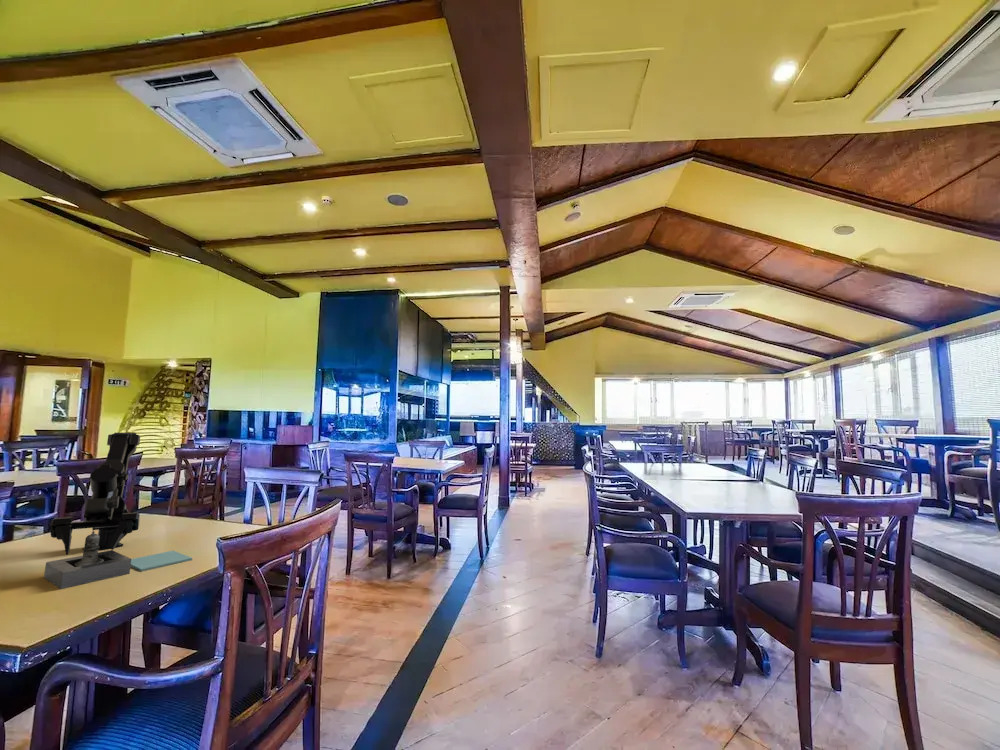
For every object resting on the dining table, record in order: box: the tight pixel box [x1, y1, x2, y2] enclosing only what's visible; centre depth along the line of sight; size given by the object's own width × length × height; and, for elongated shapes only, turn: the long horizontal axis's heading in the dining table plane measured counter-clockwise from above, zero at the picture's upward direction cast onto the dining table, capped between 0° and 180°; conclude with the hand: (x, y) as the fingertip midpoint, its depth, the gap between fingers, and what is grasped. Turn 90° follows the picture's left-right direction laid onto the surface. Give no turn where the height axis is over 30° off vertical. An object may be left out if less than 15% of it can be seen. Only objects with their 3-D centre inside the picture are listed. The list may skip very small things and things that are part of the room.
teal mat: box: [130, 550, 193, 572], centre depth 132 cm, size 13×13×1 cm
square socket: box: [43, 549, 132, 590], centre depth 119 cm, size 14×14×4 cm
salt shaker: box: [75, 530, 104, 567], centre depth 119 cm, size 6×6×12 cm
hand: (89, 551), depth 118 cm, fingers open, 9 cm apart
